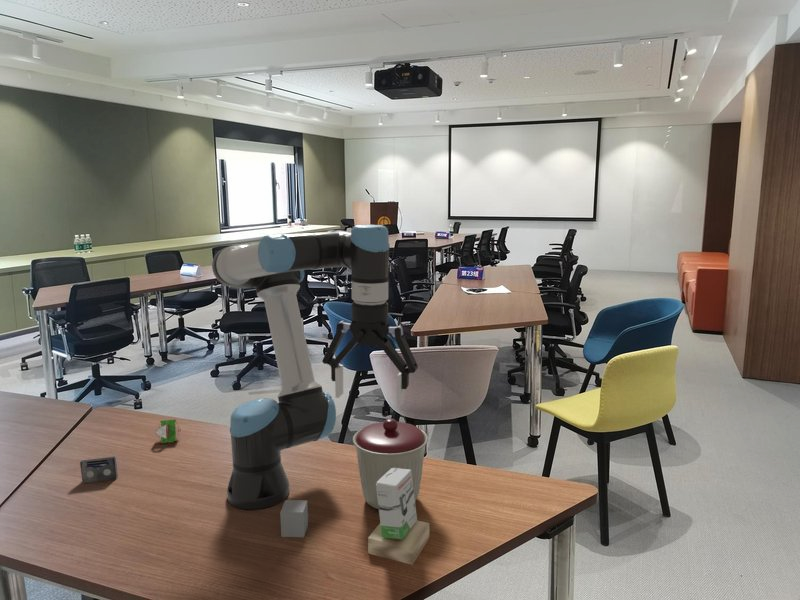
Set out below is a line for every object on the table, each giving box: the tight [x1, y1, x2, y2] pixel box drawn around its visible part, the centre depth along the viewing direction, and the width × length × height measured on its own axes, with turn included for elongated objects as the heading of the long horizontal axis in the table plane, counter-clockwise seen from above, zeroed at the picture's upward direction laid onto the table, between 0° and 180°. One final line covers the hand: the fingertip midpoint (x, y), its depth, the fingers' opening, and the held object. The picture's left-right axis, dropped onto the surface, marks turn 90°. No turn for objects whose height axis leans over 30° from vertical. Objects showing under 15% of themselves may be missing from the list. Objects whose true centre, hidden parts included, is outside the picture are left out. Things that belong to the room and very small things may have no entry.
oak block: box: [367, 519, 430, 566], centre depth 121 cm, size 10×10×4 cm
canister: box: [352, 418, 429, 511], centre depth 138 cm, size 18×18×21 cm
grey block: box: [279, 499, 309, 538], centre depth 127 cm, size 5×5×6 cm
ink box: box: [376, 468, 418, 539], centre depth 120 cm, size 9×5×12 cm, turn 156°
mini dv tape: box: [79, 456, 119, 484], centre depth 150 cm, size 8×2×6 cm, turn 105°
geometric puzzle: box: [155, 418, 180, 444], centre depth 174 cm, size 7×7×8 cm
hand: (369, 399), depth 120 cm, fingers open, 13 cm apart
